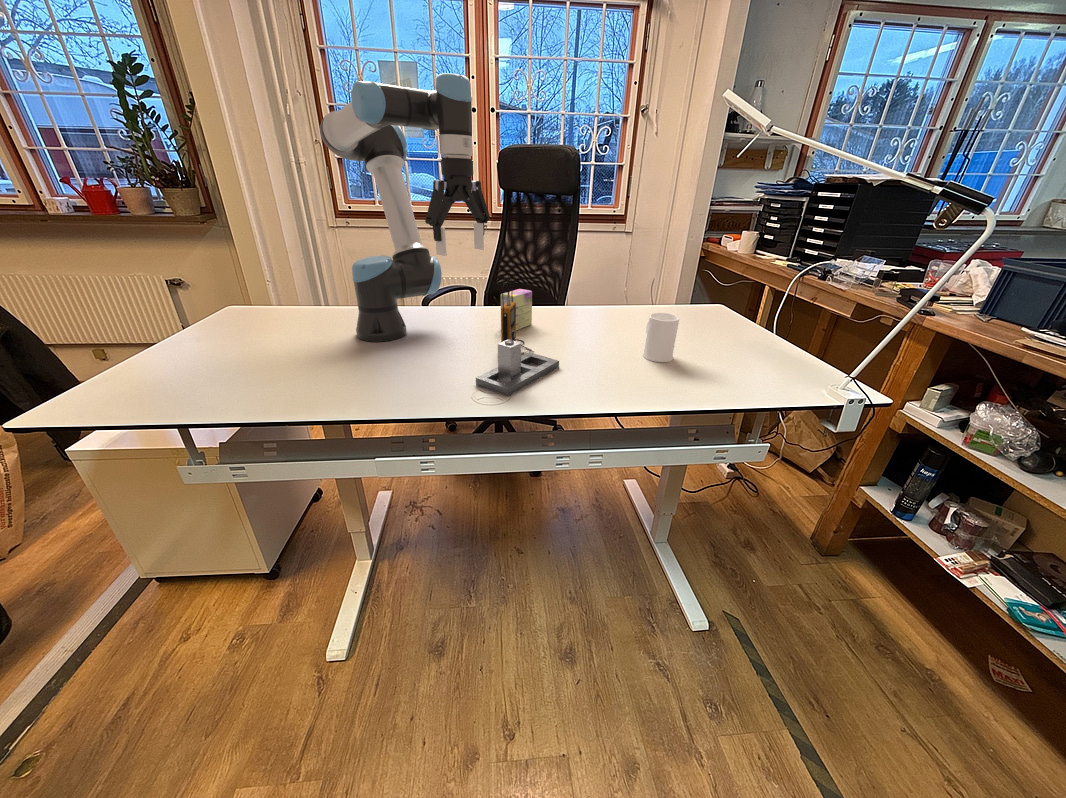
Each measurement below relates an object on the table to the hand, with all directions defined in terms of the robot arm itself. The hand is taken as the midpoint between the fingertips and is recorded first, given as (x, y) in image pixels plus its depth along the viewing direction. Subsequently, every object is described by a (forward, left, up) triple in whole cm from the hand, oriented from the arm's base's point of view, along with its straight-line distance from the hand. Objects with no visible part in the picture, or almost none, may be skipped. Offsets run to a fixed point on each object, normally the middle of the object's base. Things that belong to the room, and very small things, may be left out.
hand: (461, 252), depth 109 cm
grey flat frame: (+21, -3, -28) cm, 35 cm away
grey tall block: (+21, -7, -28) cm, 36 cm away
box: (-5, +29, -28) cm, 41 cm away
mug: (+43, +34, -28) cm, 62 cm away
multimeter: (+9, +13, -28) cm, 33 cm away
